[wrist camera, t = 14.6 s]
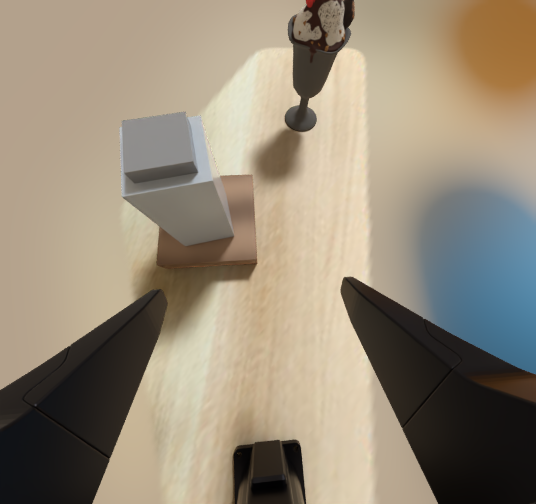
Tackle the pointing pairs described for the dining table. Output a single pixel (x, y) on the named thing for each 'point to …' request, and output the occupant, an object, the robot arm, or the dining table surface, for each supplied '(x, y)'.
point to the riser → (220, 250)
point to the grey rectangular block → (174, 177)
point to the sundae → (315, 51)
